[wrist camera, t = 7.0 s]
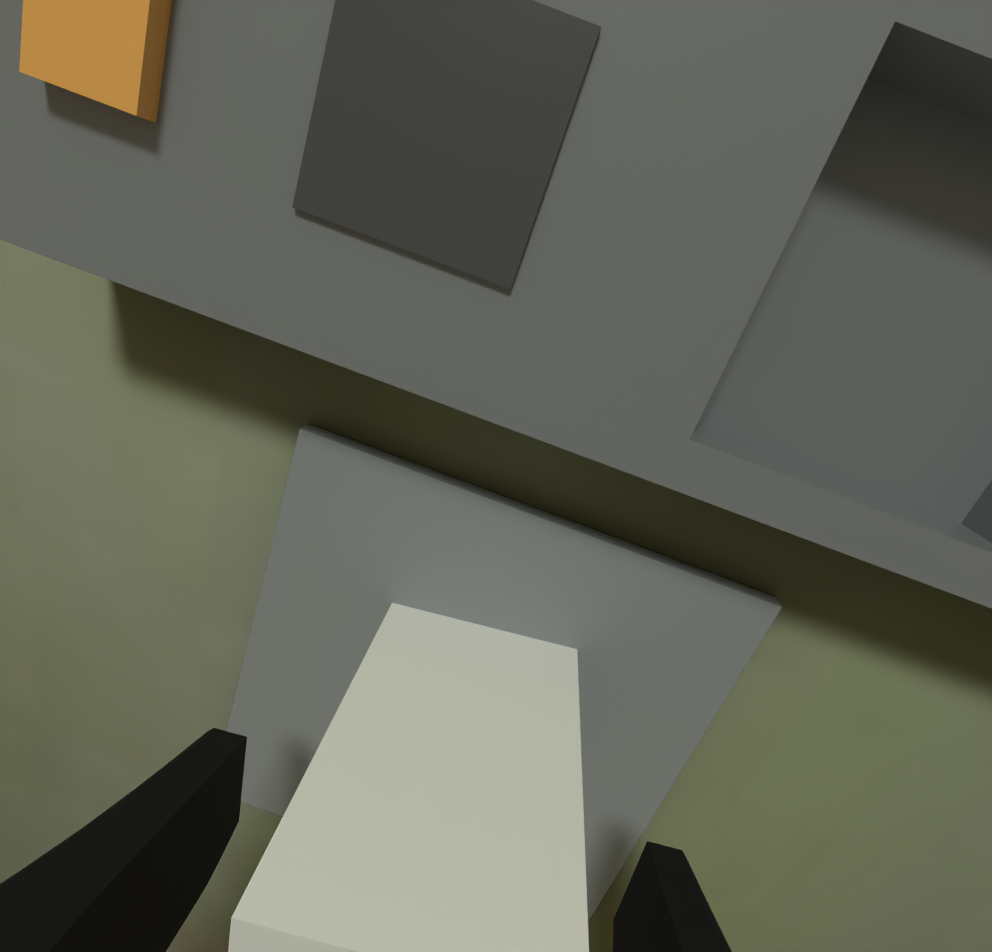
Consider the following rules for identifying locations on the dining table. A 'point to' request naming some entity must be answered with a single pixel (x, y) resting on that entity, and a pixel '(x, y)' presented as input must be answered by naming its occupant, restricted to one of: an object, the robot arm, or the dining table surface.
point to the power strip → (568, 225)
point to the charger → (434, 805)
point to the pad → (493, 603)
